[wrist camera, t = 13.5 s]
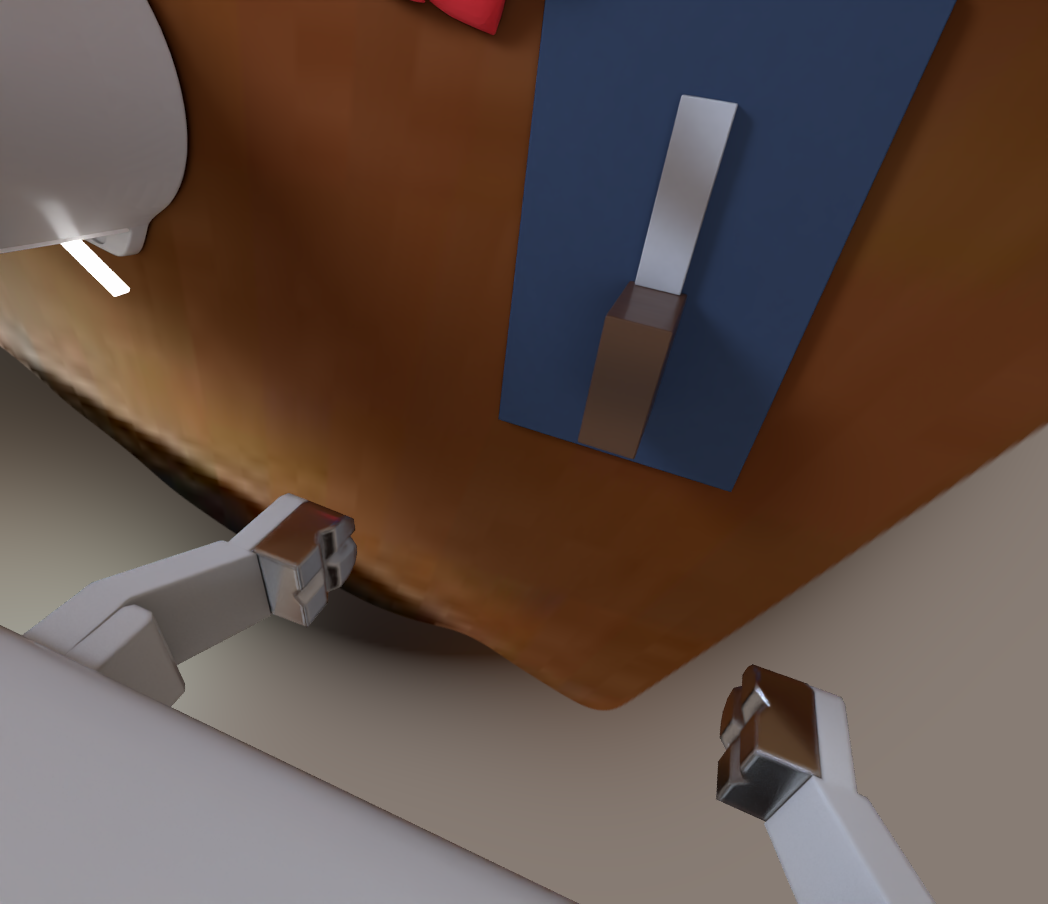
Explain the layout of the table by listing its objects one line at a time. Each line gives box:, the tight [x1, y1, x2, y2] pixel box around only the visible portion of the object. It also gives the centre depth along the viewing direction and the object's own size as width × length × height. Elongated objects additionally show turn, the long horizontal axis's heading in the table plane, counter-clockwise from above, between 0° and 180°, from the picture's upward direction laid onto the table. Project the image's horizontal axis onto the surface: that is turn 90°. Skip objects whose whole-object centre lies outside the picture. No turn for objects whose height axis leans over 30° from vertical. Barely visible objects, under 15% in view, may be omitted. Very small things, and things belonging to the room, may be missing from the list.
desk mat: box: [499, 0, 957, 492], centre depth 24 cm, size 13×20×1 cm, turn 173°
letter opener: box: [578, 95, 738, 459], centre depth 22 cm, size 13×3×5 cm, turn 173°
